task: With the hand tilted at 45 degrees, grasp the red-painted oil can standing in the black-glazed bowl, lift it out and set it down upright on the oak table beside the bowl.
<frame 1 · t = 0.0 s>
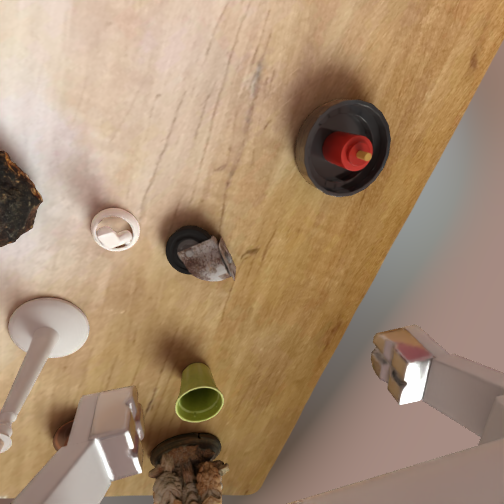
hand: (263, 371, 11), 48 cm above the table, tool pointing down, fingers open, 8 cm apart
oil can: (336, 147, 58), point 1 cm above the table, touching bowl
plant pot: (196, 372, 73), on the table
bowl: (334, 146, 59), on the table
candlestick: (51, 327, 61), on the table
hook: (116, 229, 56), on the table
cup and saucer: (86, 430, 73), on the table
owl figurine: (188, 448, 82), on the table
caster wheel: (197, 249, 61), on the table
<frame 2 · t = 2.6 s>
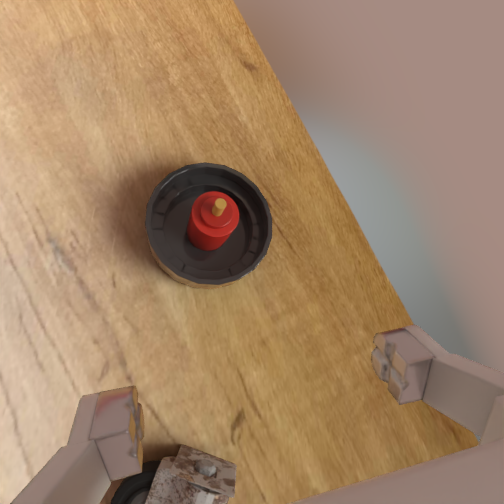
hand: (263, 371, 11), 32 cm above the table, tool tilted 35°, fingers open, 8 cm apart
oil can: (207, 231, 44), point 1 cm above the table, touching bowl
bowl: (206, 232, 45), on the table
caster wheel: (169, 492, 37), on the table
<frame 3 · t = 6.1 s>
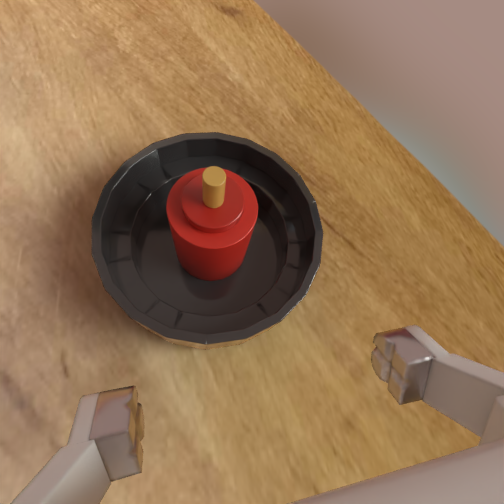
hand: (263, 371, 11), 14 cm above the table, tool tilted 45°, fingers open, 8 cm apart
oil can: (211, 247, 26), point 1 cm above the table, touching bowl
bowl: (211, 251, 27), on the table
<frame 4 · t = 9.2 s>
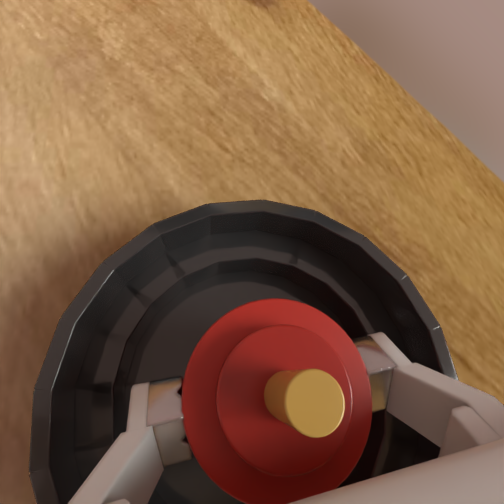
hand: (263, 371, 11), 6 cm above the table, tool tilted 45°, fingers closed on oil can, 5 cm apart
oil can: (249, 386, 16), point 1 cm above the table, touching bowl, gripper
bowl: (247, 385, 17), on the table
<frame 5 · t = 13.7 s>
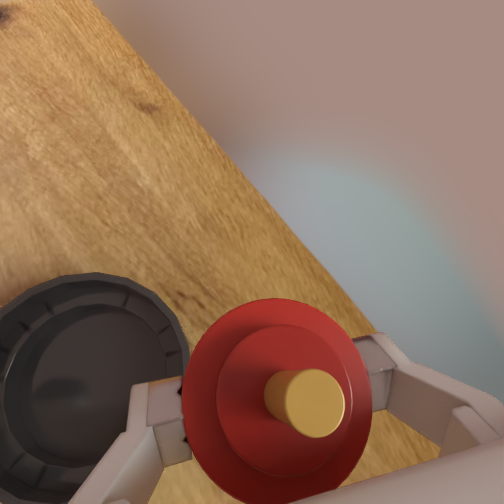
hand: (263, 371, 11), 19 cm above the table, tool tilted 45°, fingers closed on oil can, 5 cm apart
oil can: (249, 386, 16), point 14 cm above the table, touching gripper
bowl: (99, 379, 27), on the table
when the fingers open (5 cm above the table, at t = 18.1 s): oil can stays where it is, on the table.
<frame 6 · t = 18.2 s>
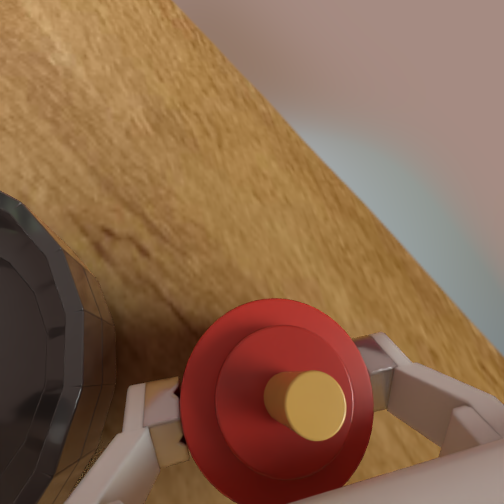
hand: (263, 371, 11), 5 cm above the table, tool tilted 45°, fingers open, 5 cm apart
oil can: (249, 386, 16), on the table
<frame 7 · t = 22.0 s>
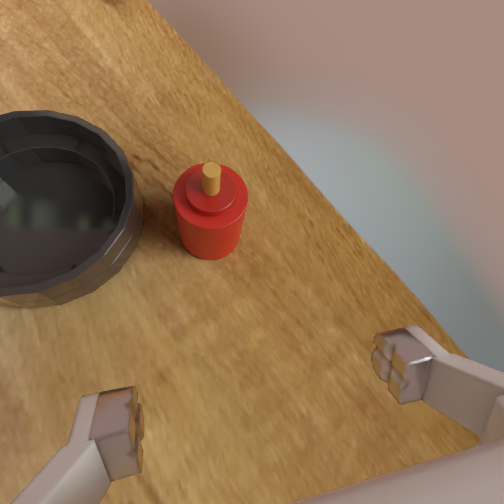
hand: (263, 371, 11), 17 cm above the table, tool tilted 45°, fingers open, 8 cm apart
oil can: (210, 232, 31), on the table
bowl: (54, 222, 29), on the table
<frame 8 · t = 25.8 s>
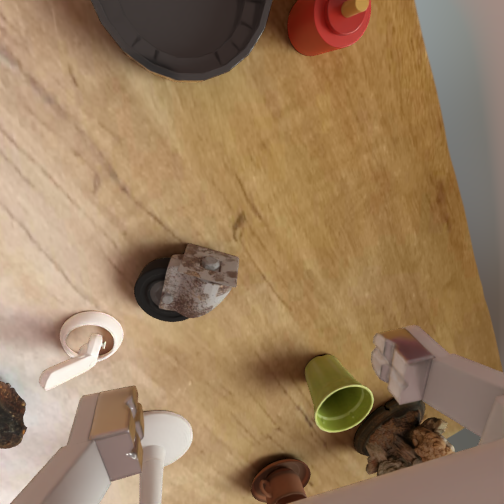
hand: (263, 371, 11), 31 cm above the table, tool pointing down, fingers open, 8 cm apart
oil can: (311, 26, 35), on the table
plant pot: (320, 366, 57), on the table
candlestick: (152, 437, 55), on the table
hook: (92, 334, 44), on the table
cup and saucer: (278, 472, 67), on the table
owl figurine: (387, 420, 68), on the table
caster wheel: (183, 277, 44), on the table
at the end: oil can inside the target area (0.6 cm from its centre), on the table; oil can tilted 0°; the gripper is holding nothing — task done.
